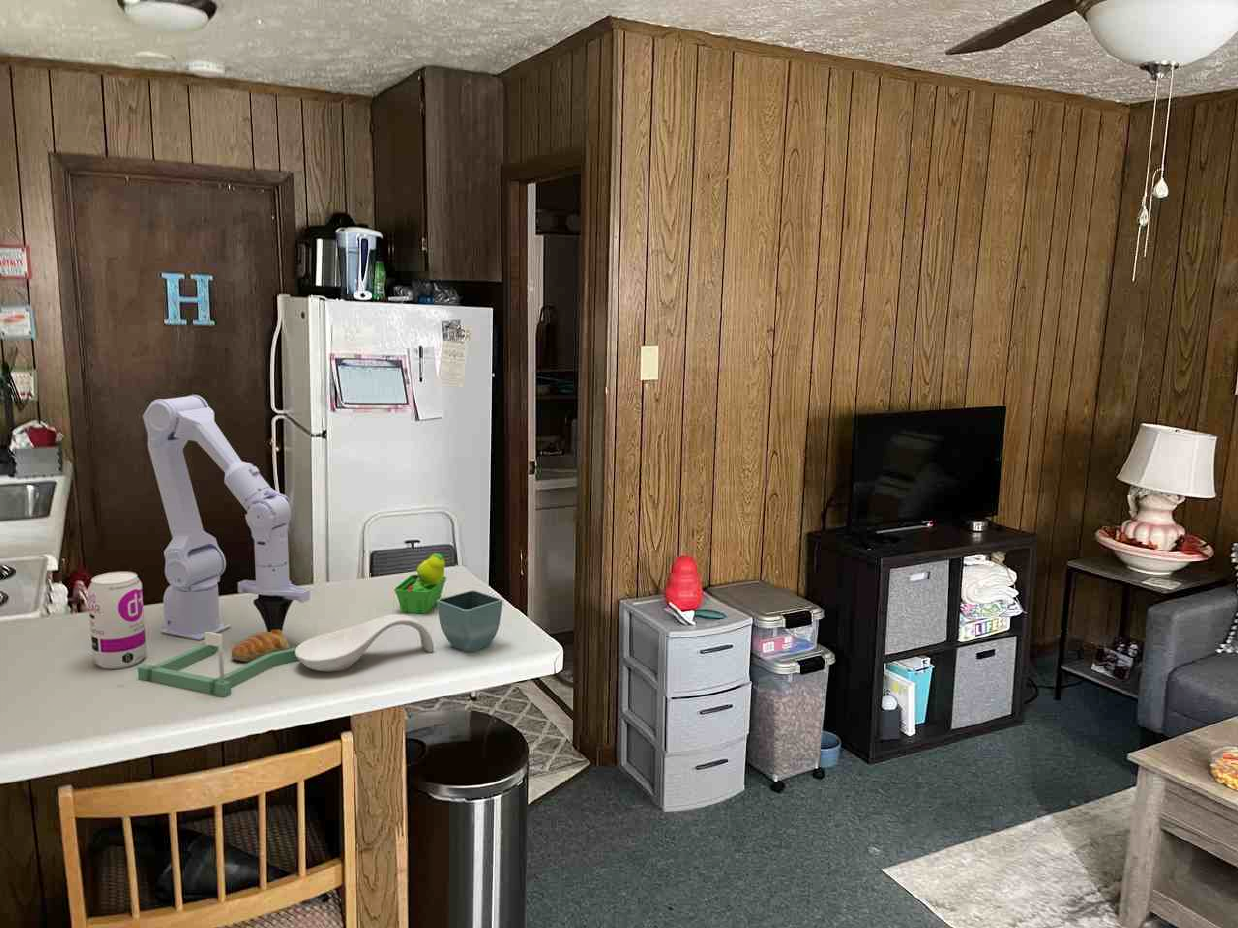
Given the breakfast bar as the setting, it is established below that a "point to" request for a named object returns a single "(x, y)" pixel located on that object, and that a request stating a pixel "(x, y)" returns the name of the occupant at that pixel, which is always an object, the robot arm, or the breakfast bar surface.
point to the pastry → (260, 646)
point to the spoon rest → (352, 643)
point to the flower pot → (470, 619)
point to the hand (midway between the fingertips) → (275, 634)
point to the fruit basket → (422, 586)
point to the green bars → (220, 686)
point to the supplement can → (117, 620)
